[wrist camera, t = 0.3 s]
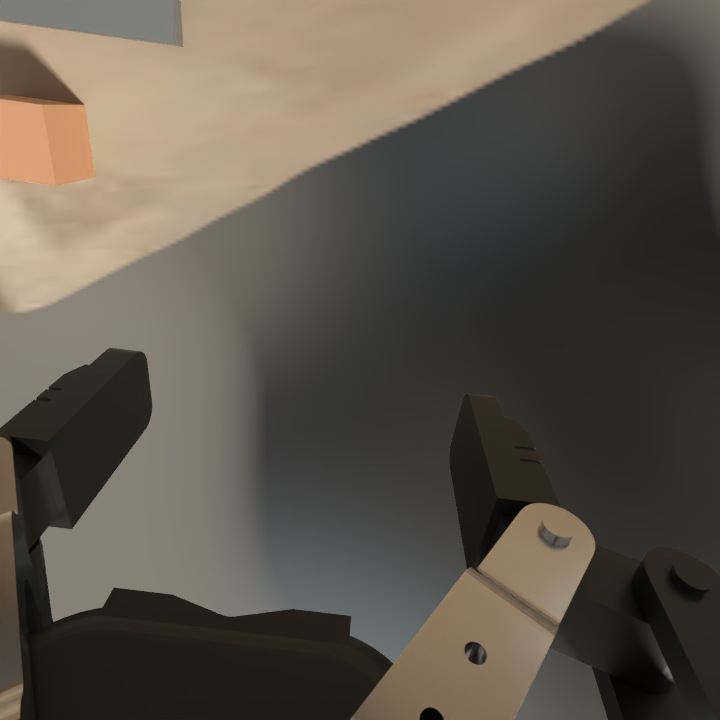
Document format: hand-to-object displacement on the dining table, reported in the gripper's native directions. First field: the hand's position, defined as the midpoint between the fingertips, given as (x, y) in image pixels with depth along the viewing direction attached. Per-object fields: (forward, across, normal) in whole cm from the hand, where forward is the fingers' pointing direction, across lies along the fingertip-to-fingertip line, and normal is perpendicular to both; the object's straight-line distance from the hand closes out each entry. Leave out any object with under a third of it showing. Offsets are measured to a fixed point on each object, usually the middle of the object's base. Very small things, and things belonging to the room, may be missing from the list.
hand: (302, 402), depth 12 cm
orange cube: (+28, +23, -2) cm, 37 cm away
